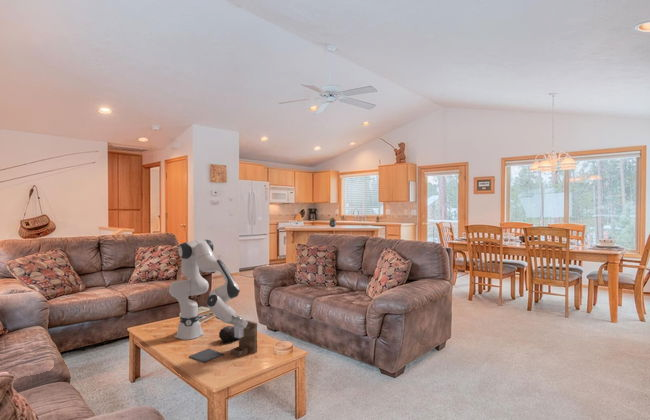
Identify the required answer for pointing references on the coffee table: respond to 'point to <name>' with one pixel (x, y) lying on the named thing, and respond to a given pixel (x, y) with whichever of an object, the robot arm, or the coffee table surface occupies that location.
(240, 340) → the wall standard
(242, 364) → the coffee table surface
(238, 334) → the light gray square block
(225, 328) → the dark porous rock
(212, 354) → the rubber mat
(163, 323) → the coffee table surface
